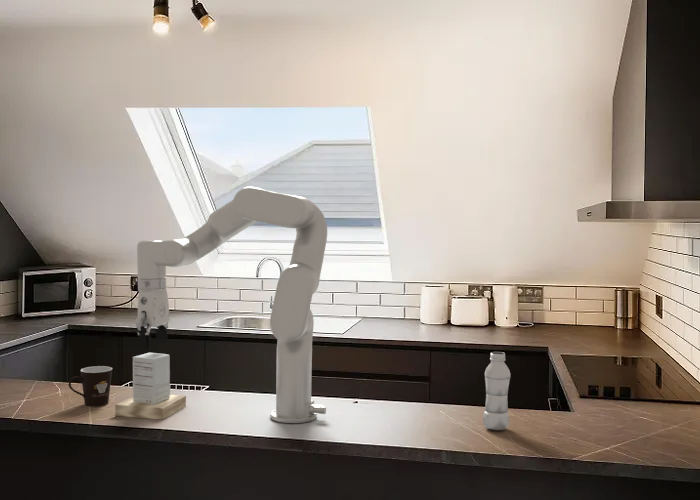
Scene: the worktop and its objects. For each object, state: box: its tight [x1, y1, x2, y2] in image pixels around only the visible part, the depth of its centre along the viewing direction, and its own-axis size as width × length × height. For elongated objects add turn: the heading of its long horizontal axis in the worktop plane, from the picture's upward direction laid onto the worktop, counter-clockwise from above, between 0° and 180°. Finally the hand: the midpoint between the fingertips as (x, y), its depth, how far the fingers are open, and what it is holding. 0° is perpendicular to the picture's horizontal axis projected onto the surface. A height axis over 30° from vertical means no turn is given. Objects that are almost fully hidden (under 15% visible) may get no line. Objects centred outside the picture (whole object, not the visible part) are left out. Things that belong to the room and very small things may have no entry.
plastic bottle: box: [482, 351, 511, 431], centre depth 184 cm, size 6×7×20 cm
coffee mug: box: [68, 365, 113, 408], centre depth 203 cm, size 12×9×10 cm
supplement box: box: [132, 352, 171, 404], centre depth 197 cm, size 7×7×13 cm
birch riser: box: [114, 394, 187, 421], centre depth 197 cm, size 14×14×3 cm
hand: (153, 346), depth 196 cm, fingers open, 9 cm apart
